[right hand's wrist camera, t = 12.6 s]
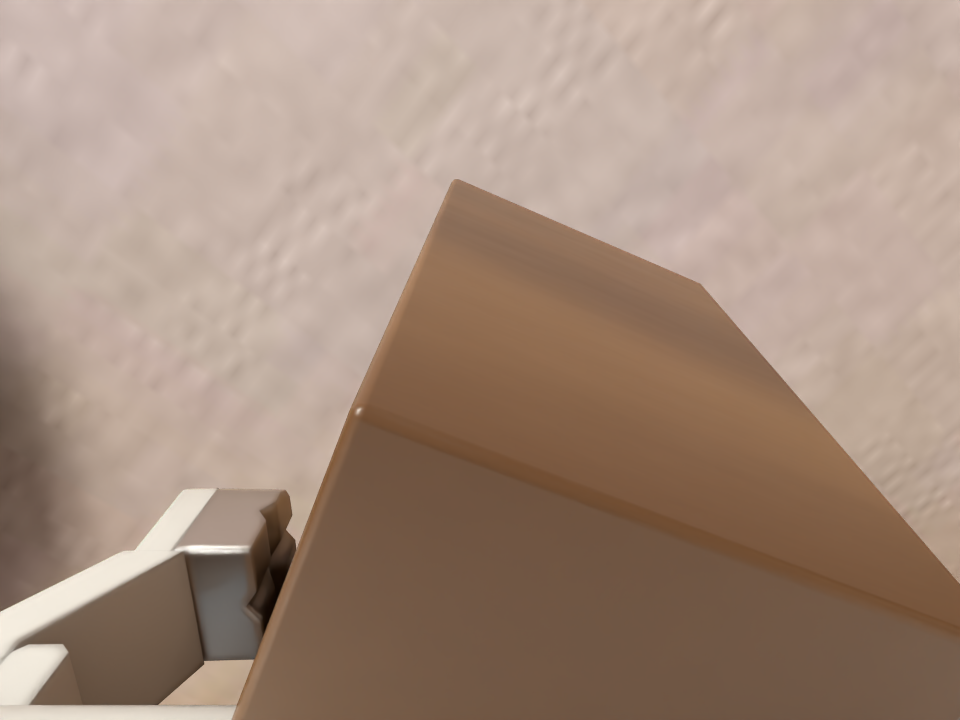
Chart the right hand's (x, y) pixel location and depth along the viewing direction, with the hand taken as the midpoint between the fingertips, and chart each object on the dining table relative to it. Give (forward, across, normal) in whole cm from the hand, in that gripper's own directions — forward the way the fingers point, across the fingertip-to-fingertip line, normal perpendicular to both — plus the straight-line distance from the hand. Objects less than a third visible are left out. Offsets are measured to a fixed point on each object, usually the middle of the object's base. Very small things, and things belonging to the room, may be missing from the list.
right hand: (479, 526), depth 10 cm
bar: (+3, -3, -7) cm, 8 cm away
